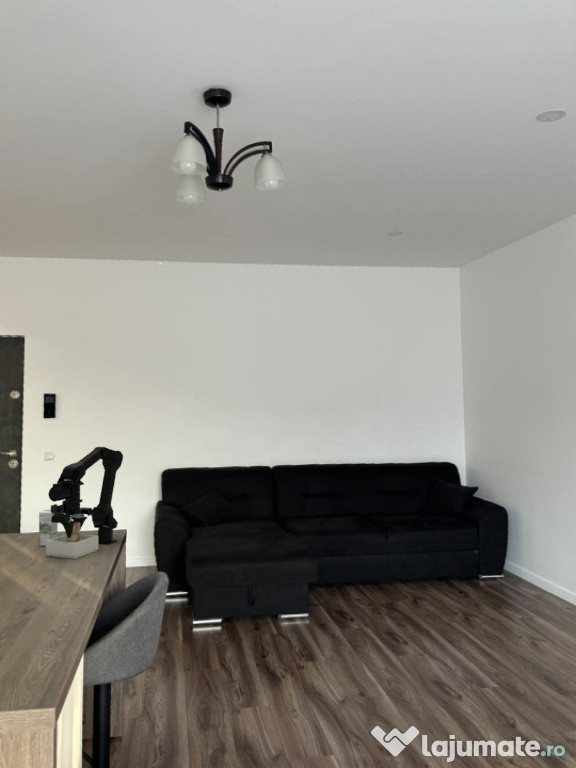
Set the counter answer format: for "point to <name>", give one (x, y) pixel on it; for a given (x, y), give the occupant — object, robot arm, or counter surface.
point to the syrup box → (46, 527)
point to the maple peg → (74, 533)
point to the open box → (71, 547)
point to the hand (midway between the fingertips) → (72, 536)
